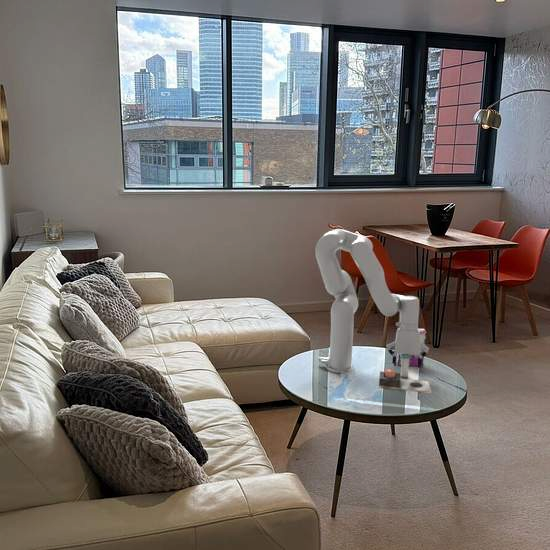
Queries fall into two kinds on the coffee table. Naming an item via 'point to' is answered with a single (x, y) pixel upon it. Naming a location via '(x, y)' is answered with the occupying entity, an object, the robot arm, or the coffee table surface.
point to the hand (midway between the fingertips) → (406, 365)
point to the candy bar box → (414, 358)
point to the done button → (390, 373)
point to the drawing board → (403, 383)
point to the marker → (404, 365)
